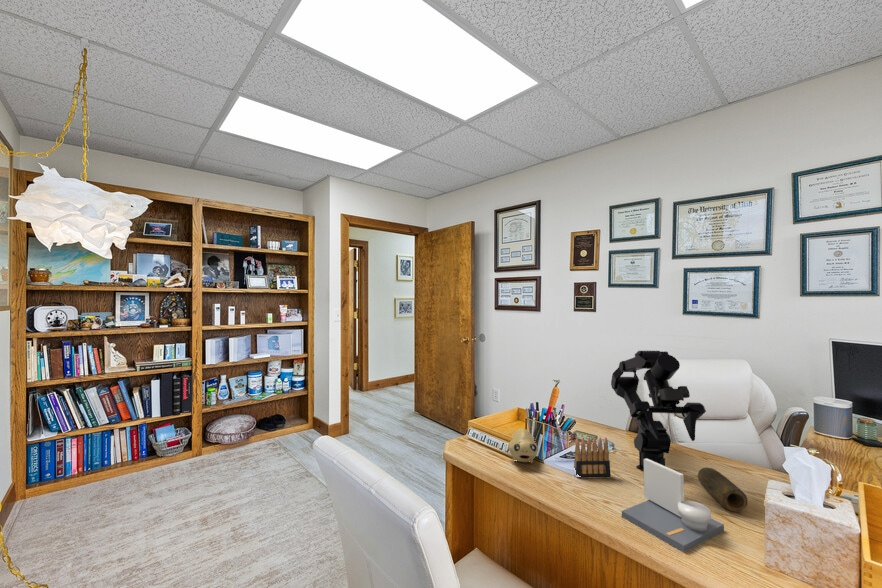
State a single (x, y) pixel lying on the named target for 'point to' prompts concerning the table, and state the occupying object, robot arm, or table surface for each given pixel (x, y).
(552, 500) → the table surface
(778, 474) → the table surface
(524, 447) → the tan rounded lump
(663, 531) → the base board
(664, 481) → the white piece
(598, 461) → the ammunition clip
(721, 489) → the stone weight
